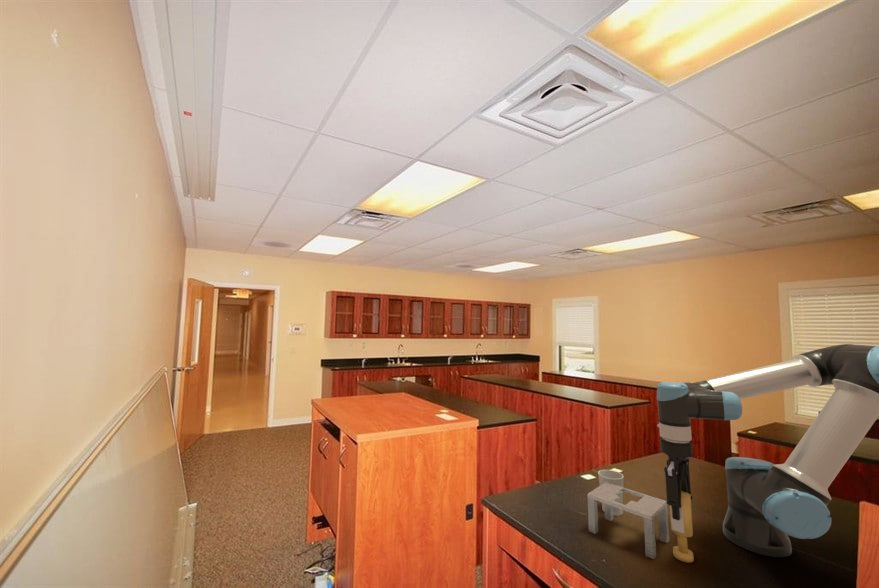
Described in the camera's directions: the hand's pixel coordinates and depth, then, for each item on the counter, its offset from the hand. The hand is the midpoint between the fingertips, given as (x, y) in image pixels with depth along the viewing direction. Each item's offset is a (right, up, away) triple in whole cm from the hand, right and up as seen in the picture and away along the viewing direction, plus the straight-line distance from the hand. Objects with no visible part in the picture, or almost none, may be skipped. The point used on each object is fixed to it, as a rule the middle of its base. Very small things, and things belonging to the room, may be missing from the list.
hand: (681, 526), depth 98 cm
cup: (-7, -11, +24) cm, 28 cm away
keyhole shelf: (-9, -9, +10) cm, 16 cm away
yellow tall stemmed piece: (0, -8, -1) cm, 8 cm away
